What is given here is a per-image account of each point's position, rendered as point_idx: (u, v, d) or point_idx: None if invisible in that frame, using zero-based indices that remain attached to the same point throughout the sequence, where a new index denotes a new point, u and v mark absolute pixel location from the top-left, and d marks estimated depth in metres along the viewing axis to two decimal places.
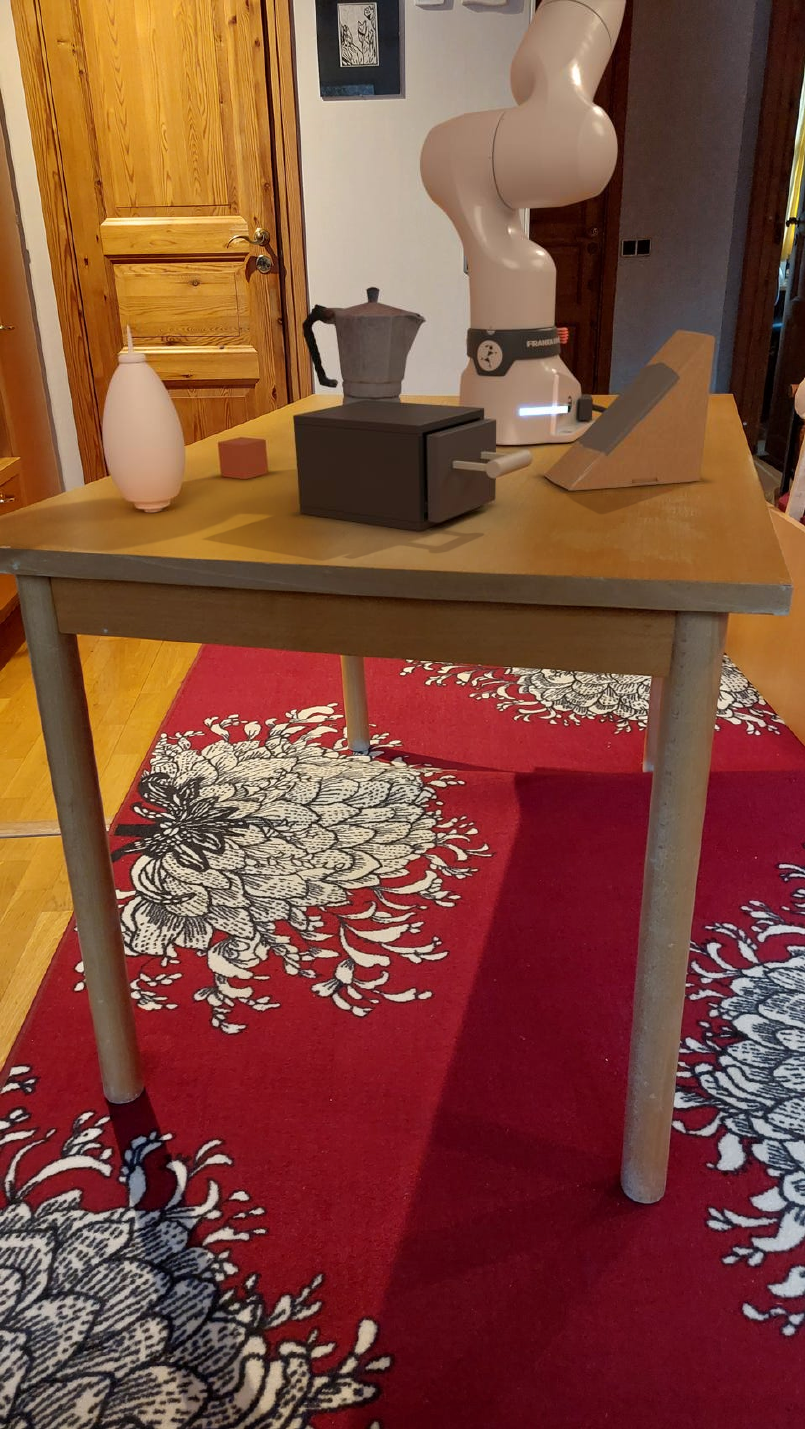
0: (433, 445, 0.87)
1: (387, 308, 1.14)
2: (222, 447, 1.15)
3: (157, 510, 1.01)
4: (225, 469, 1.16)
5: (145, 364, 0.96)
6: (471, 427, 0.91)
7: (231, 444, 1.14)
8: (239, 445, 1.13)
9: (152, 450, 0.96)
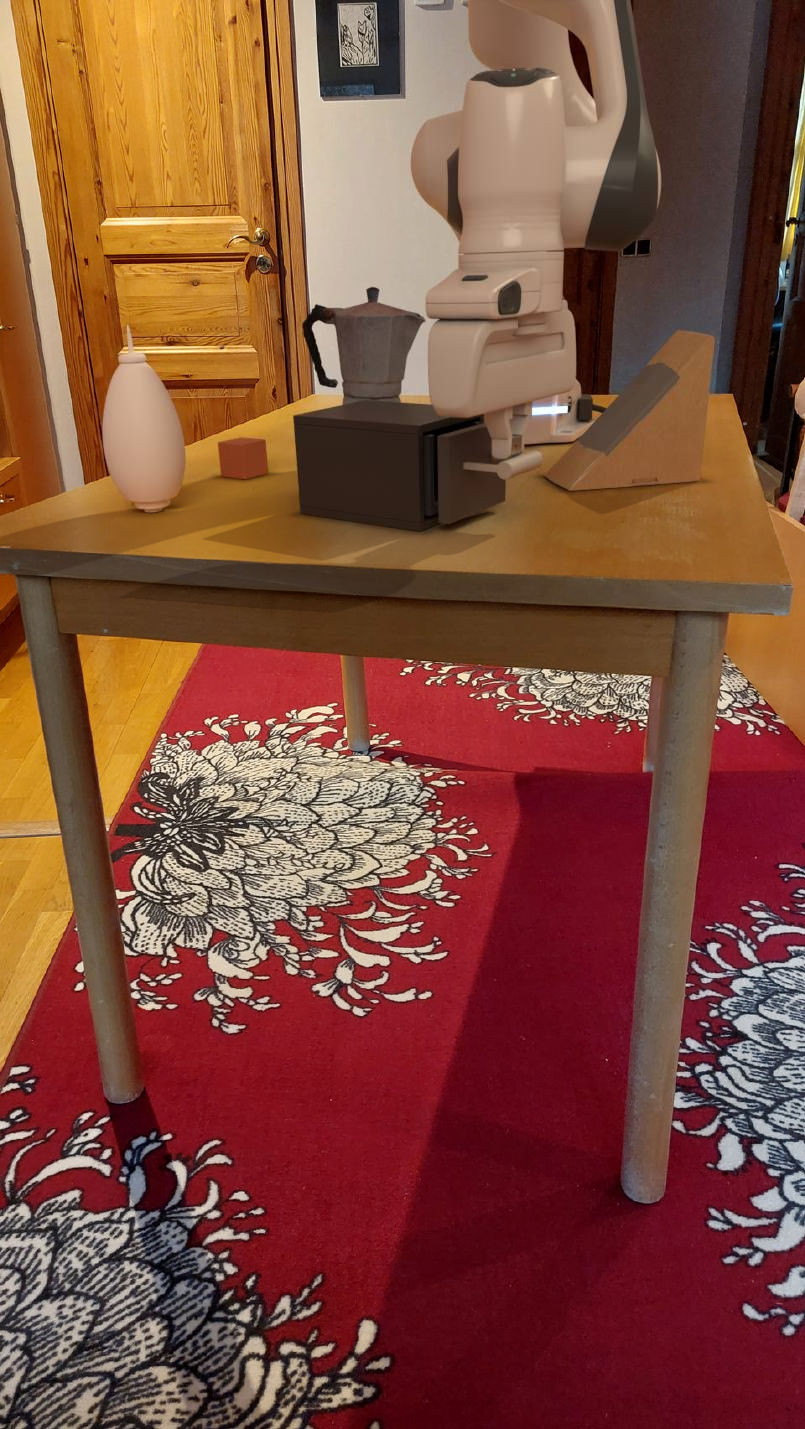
0: (444, 446, 0.87)
1: (387, 308, 1.14)
2: (222, 447, 1.15)
3: (157, 510, 1.01)
4: (225, 469, 1.16)
5: (145, 364, 0.96)
6: (481, 428, 0.91)
7: (231, 444, 1.14)
8: (239, 445, 1.13)
9: (152, 450, 0.96)
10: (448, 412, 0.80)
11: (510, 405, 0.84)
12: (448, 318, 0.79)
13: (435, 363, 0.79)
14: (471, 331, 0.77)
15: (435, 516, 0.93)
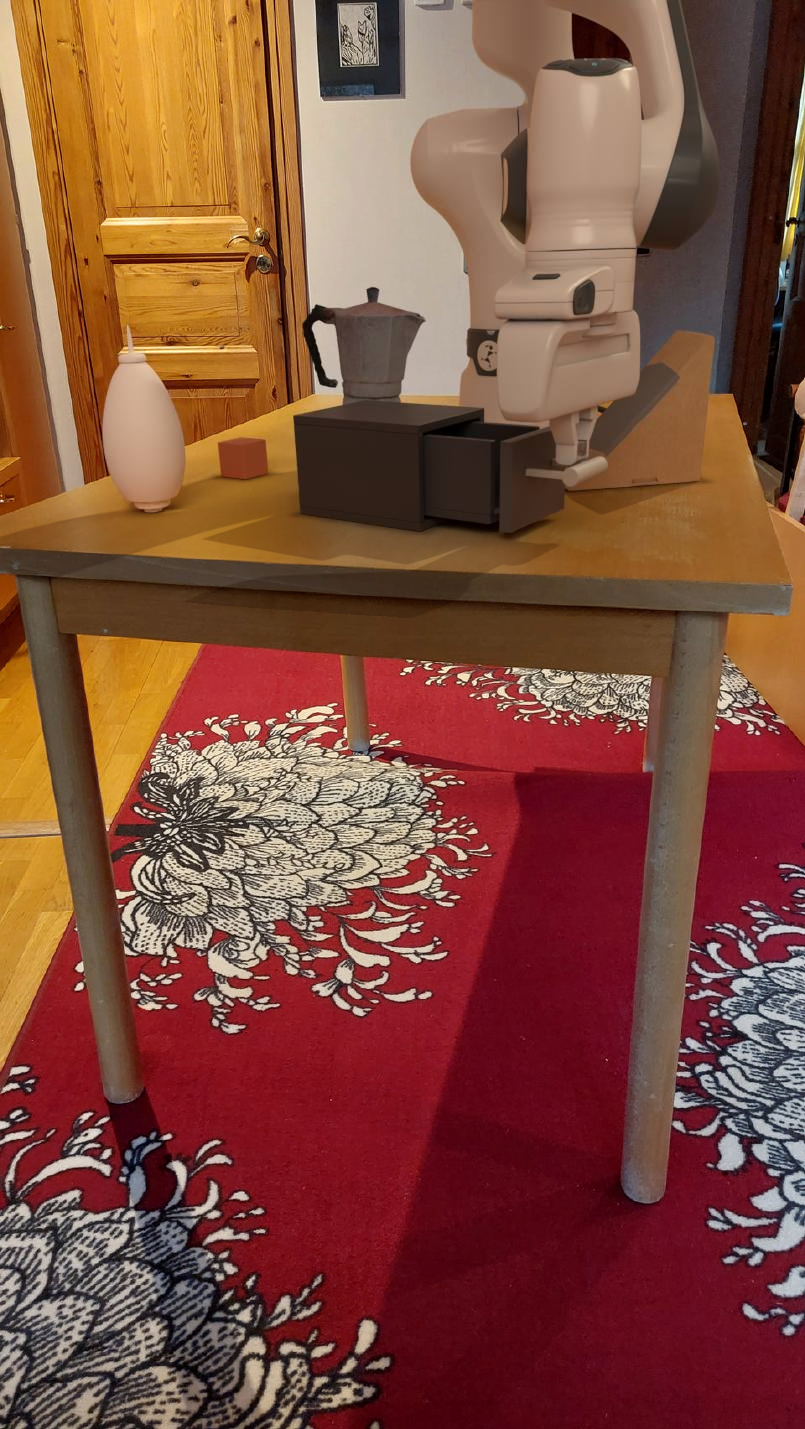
0: (507, 452, 0.83)
1: (387, 308, 1.14)
2: (222, 447, 1.15)
3: (157, 510, 1.01)
4: (225, 469, 1.16)
5: (145, 364, 0.96)
6: (544, 433, 0.87)
7: (231, 444, 1.14)
8: (239, 445, 1.13)
9: (152, 450, 0.96)
10: (518, 417, 0.76)
11: (578, 409, 0.81)
12: (518, 318, 0.75)
13: (505, 365, 0.76)
14: (544, 332, 0.74)
15: None
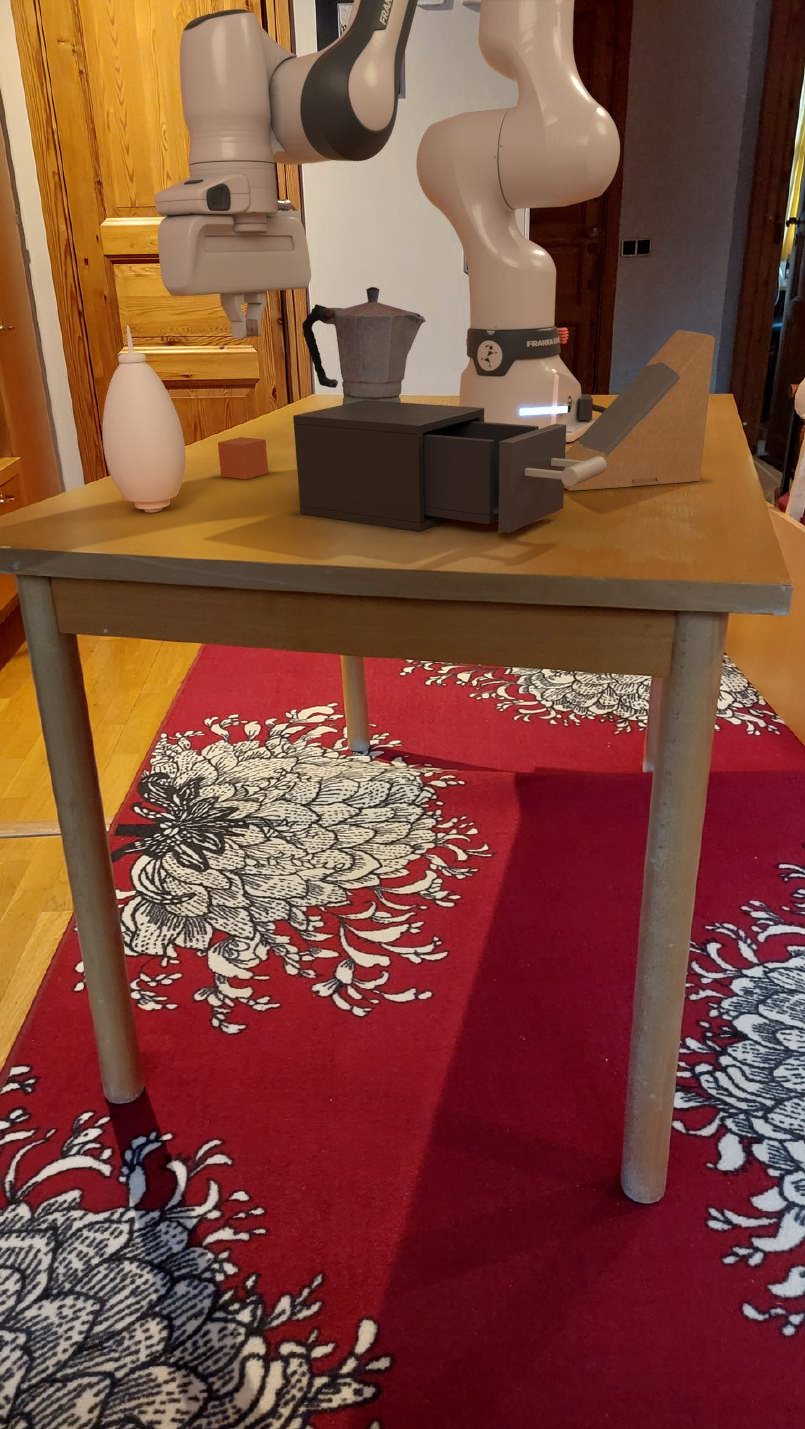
0: (506, 452, 0.83)
1: (387, 308, 1.14)
2: (222, 447, 1.15)
3: (157, 510, 1.01)
4: (225, 469, 1.16)
5: (145, 364, 0.96)
6: (543, 433, 0.87)
7: (231, 444, 1.14)
8: (239, 445, 1.13)
9: (152, 450, 0.96)
10: (176, 291, 0.99)
11: (237, 291, 1.04)
12: (172, 214, 0.98)
13: (163, 250, 0.98)
14: (186, 223, 0.96)
15: None
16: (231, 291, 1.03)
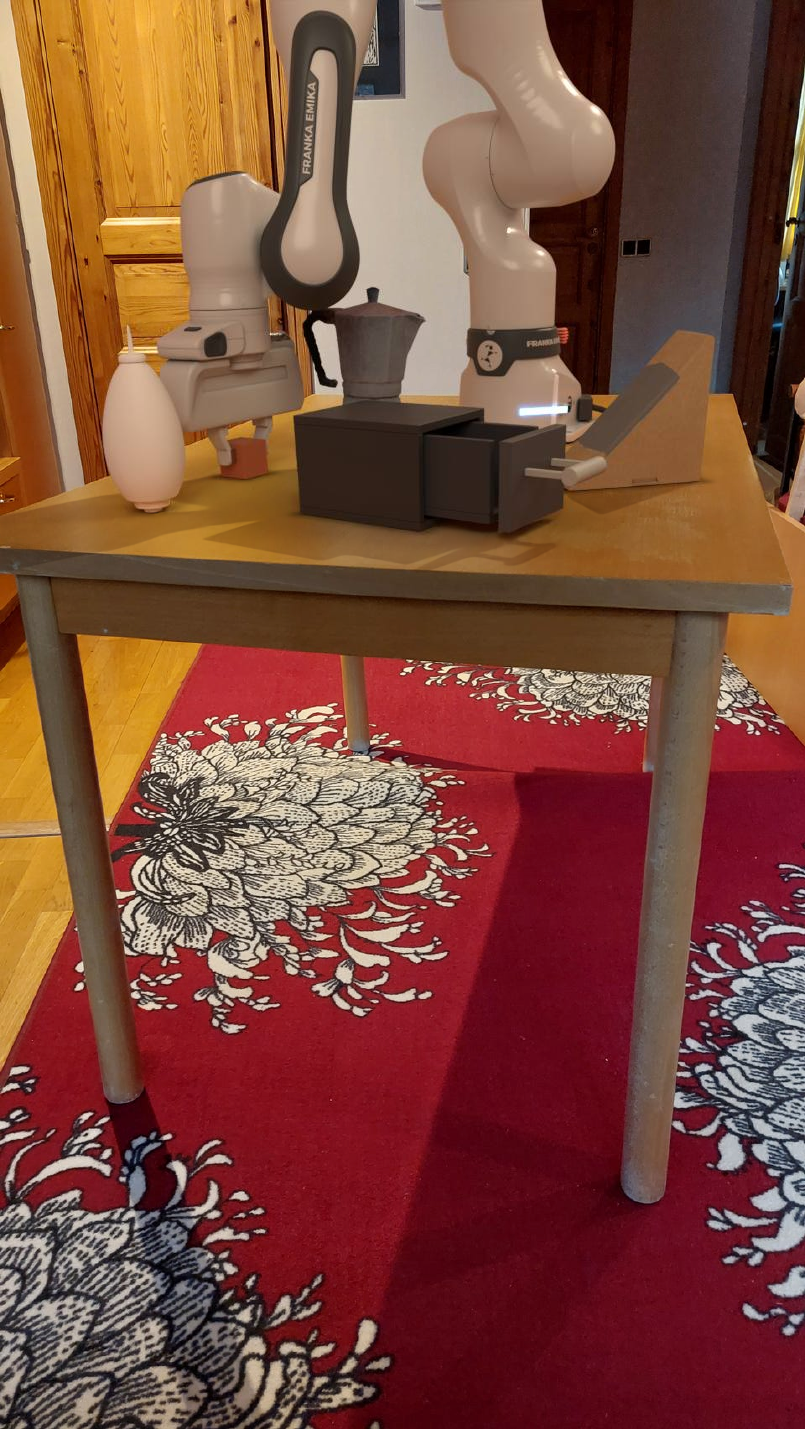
0: (506, 452, 0.83)
1: (387, 308, 1.14)
2: None
3: (157, 510, 1.01)
4: (225, 469, 1.16)
5: (145, 364, 0.96)
6: (543, 433, 0.87)
7: (231, 444, 1.14)
8: (239, 445, 1.13)
9: (152, 450, 0.96)
10: None
11: (234, 422, 1.12)
12: (173, 359, 1.06)
13: None
14: (185, 369, 1.04)
15: None
16: (228, 423, 1.11)
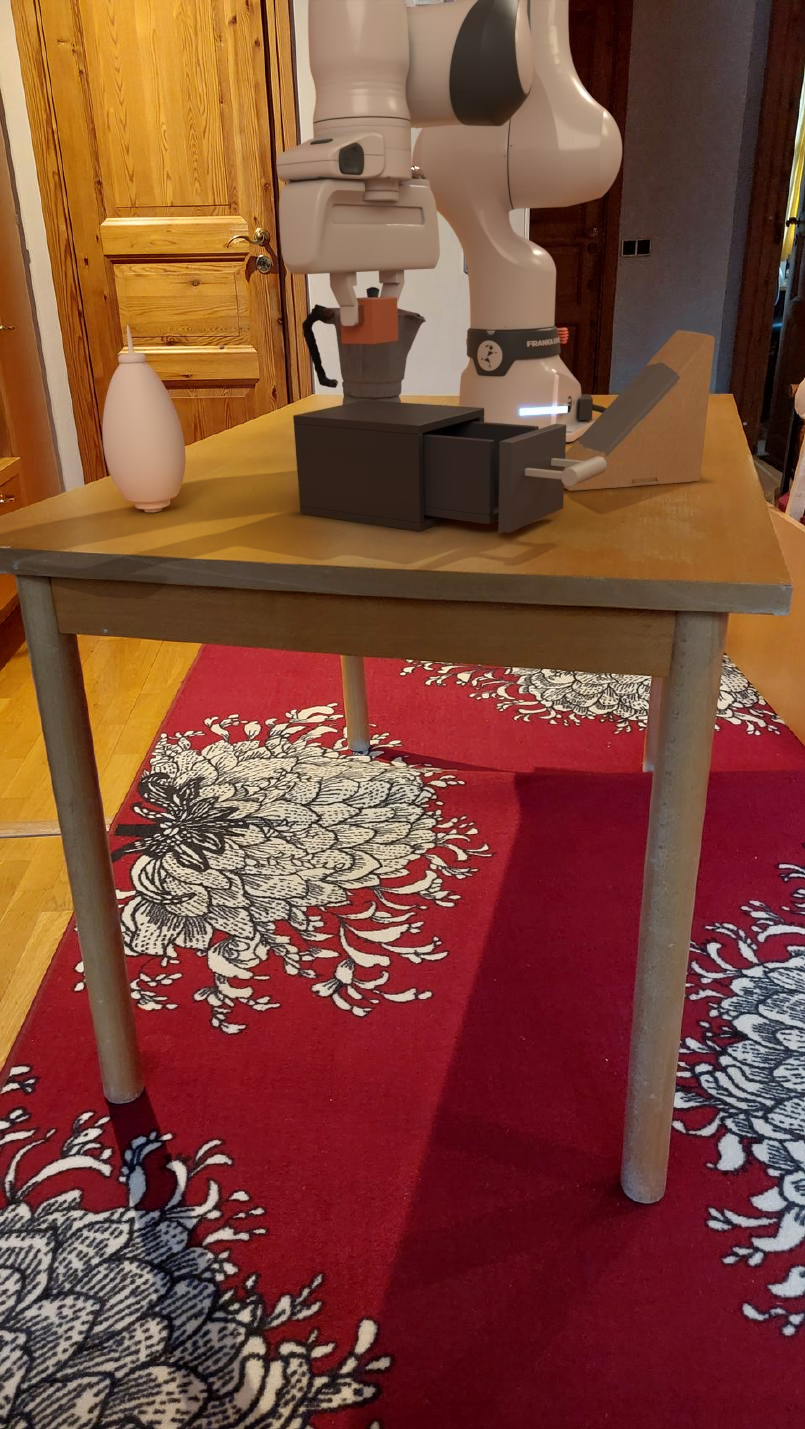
0: (506, 452, 0.83)
1: None
2: None
3: (157, 510, 1.01)
4: (347, 333, 0.95)
5: (145, 364, 0.96)
6: (543, 433, 0.87)
7: (357, 300, 0.93)
8: (368, 300, 0.92)
9: (152, 450, 0.96)
10: (299, 269, 0.86)
11: (364, 269, 0.90)
12: (296, 179, 0.85)
13: (285, 221, 0.85)
14: (314, 188, 0.83)
15: None
16: (358, 269, 0.90)
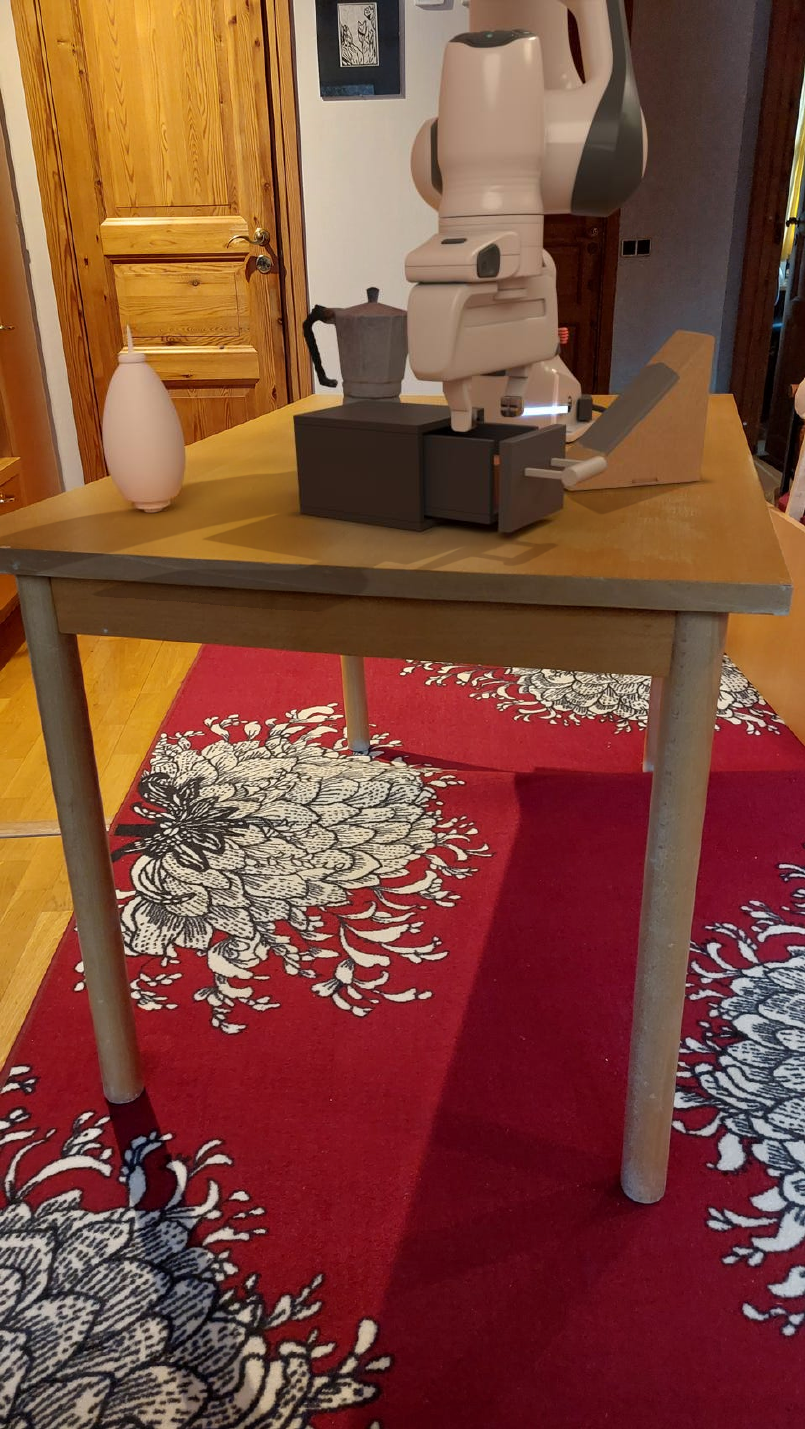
0: (506, 452, 0.83)
1: (387, 308, 1.14)
2: None
3: (157, 510, 1.01)
4: None
5: (145, 364, 0.96)
6: (543, 433, 0.87)
7: None
8: None
9: (152, 450, 0.96)
10: (428, 376, 0.80)
11: (490, 370, 0.84)
12: (427, 281, 0.79)
13: (415, 326, 0.79)
14: (449, 294, 0.77)
15: None
16: (485, 372, 0.84)
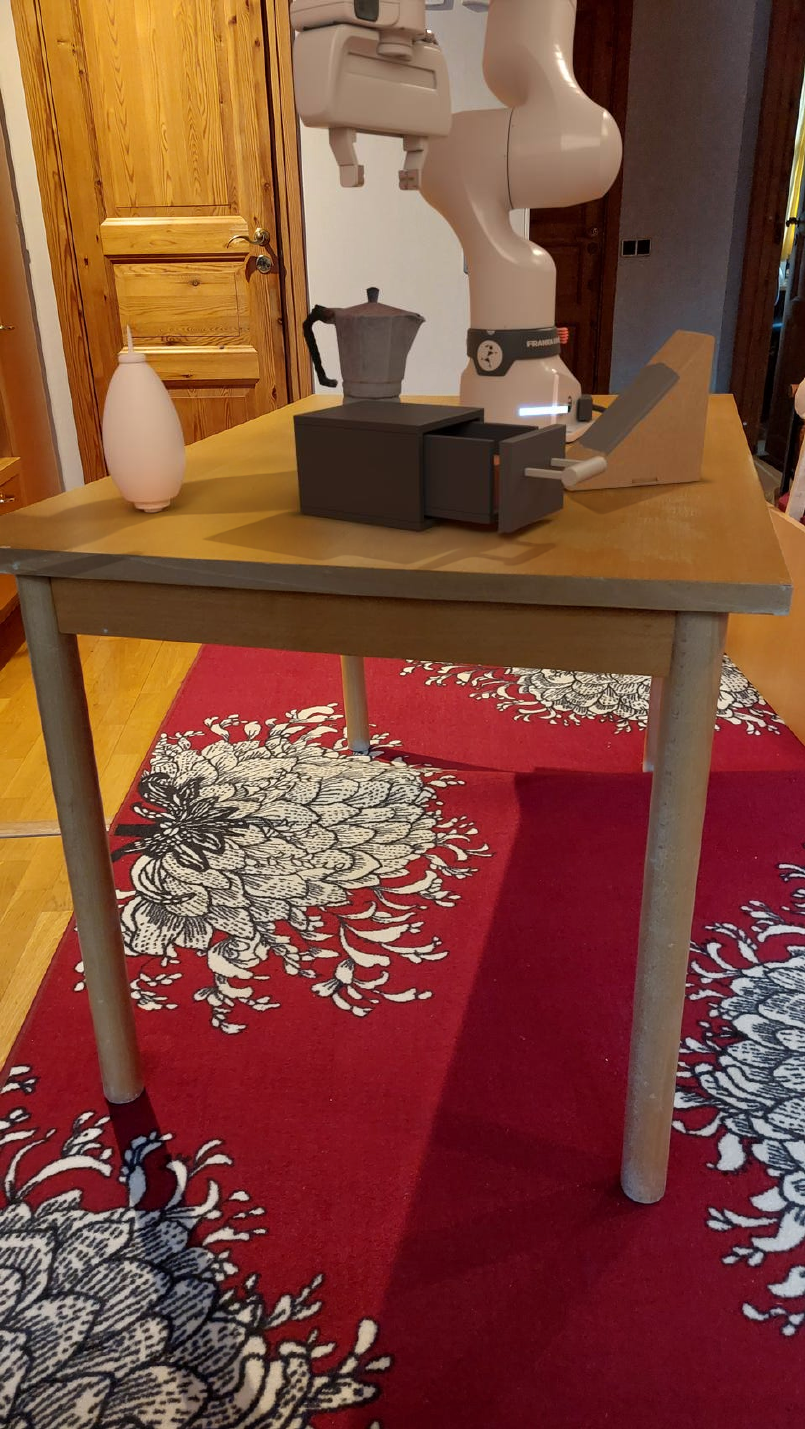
0: (506, 452, 0.83)
1: (387, 308, 1.14)
2: None
3: (157, 510, 1.01)
4: None
5: (145, 364, 0.96)
6: (543, 433, 0.87)
7: None
8: None
9: (152, 450, 0.96)
10: (313, 119, 0.85)
11: (378, 127, 0.90)
12: (310, 26, 0.84)
13: (299, 69, 0.84)
14: (329, 33, 0.82)
15: None
16: (371, 126, 0.89)
